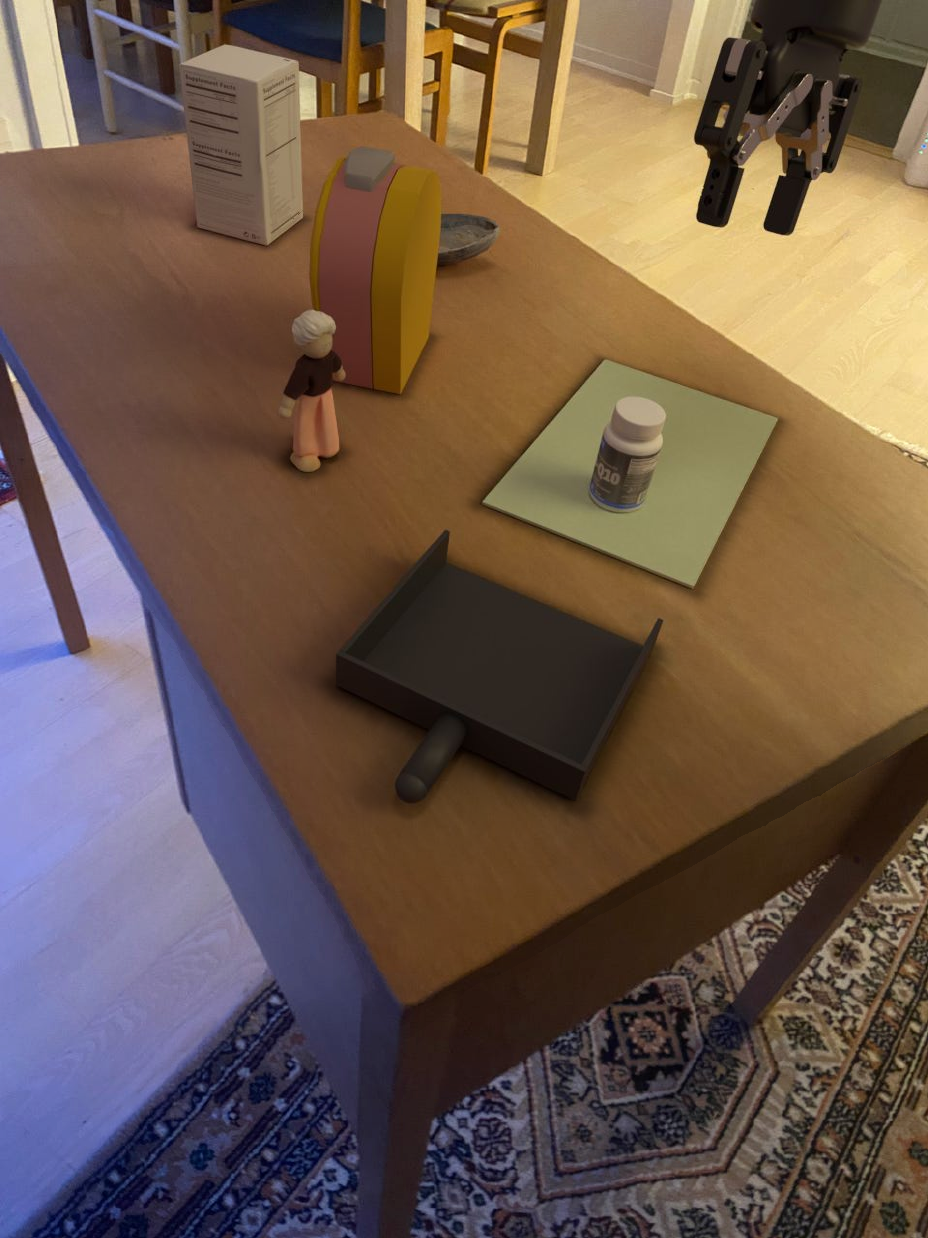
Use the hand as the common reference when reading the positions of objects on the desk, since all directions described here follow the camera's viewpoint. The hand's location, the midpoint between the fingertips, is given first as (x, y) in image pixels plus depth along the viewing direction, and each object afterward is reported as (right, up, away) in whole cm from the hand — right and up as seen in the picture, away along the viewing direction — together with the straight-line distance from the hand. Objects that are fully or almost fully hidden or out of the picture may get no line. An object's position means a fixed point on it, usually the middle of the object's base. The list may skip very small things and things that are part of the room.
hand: (744, 229), depth 63 cm
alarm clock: (-29, -2, +24) cm, 37 cm away
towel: (-4, -13, +16) cm, 21 cm away
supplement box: (-45, +19, +42) cm, 64 cm away
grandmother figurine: (-32, -14, +12) cm, 37 cm away
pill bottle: (-7, -17, +12) cm, 22 cm away
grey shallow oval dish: (-25, +14, +40) cm, 49 cm away
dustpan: (-19, -33, -5) cm, 38 cm away
